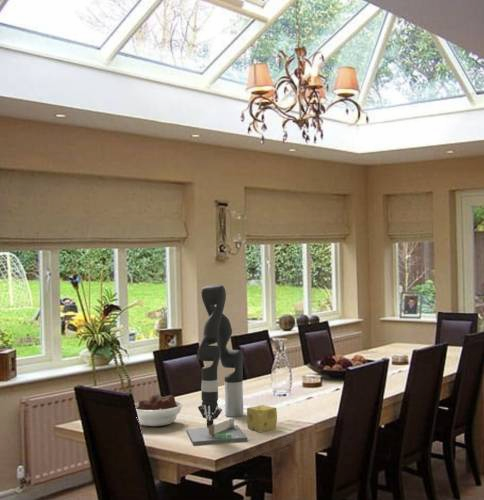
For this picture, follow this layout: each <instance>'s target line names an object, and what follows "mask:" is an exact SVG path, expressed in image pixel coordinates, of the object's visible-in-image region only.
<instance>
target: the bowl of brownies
mask: <svg viewBox="0 0 484 500" xmlns="http://www.w3.org/2000/svg"><path fill="white" fill-rule="evenodd" d="M134 404H135V406H136V410H137V414H138V418H139V421H140V423H139V424H141V425H142V426H147V427H149V426H150V427H162V426H167V425H171V424H173V423H174V422H176V419H177V417H178V415H179V414H180V412H181V411H182V408H183V404H182V402H181V401H177V400H176V399H175V396H174V395H165V396H161V394H159V393H154V394H152V395H151V396H150V397H149V398H148V399H142V400H139V401H138V402H136V403H134ZM139 421H138V422H139Z"/></svg>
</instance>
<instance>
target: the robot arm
mask: <svg viewBox="0 0 484 500" xmlns="http://www.w3.org/2000/svg"><path fill="white" fill-rule="evenodd" d="M200 293H201V300H202V302H203V305H204V308H205V310H206V312H207V315H208V318H207V319H206V322H205V323H204V327H203V333H202V334H203V336H202V339H201V343H200V345H199V346H198V349H197V358H198V360H199V361H200V362H212V363H211V365H206V366H204V367H202V368H201V389H200V391H201V392H200V393H201V396H200V397H201V401H202V402H201V404H200V405H199V406H197V408H198V411H199V412H200V414H201V417H202V418H203V419H205V420H206V427H207V428H209V426H210V425H212V424H214V420H216V419H218V417H219V416H220V414H221V413H222V412H223V409H222V408H219V403H218V400H219V382H218V369H219V368H218V367H219V363H221V365H222V367H223V368H225V369H234V370H233V372H232V373H228V374H226V375H224V402H225V403H224V404H225V405H224V409H225V410H224V411H225V412H224V413H225V416H226V417H228V418H236V417H237V418H238V417H242V416H244V387H243V386H244V385H243V384H244V383H243V381H244V380H243V377H244V375H243V373H244V371H243V366H244V365H243V364H244V354H243V352H242V350H240V349H228V348H227V345H228V342H229V341H230V339H231V337H232V335H233V328H232V325H231V321H230V319H229V318H228V317H227V316H226V315H225V314H224V313H223V312H224V308H225V304H226V299H227V298H226V297H227V292H226V289H225V287H224V285H219V284H218V285H217V284H216V285H206V286H203V287H202V289H201V292H200ZM215 305H216V306H215ZM215 344H216V345H215Z"/></svg>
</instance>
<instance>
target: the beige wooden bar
mask: <svg viewBox="0 0 484 500" xmlns="http://www.w3.org/2000/svg"><path fill="white" fill-rule="evenodd" d="M234 425H235V417H226V418H225V419H223V420H221V421H218V422H215V423H213V424H212V425H210V426H209V434H214V433H217V432H219V431H221V430H224V429H226V428H233V427H234Z"/></svg>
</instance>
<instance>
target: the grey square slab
mask: <svg viewBox="0 0 484 500" xmlns="http://www.w3.org/2000/svg"><path fill="white" fill-rule="evenodd" d="M185 431H186V434H187V436H188V438H189V439H190V442H191V444H192V445H193V446H200V445H211V444H213V443H214V444H225V443H227V444H228V443H235V442H236V443H237V442H238V443H239V442H248V440H249V439H248V436H247V435H246V434H245V433H244V431H243V430H242V429H241V428H240V426H238V424H236V425H235V424H234V427H233V428H226V429H224V430H221V431H219V432H217V433H214V434H209V428H207V426H206V427H195V428H193V427H192V428H186V430H185ZM214 444H213V445H214Z"/></svg>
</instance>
